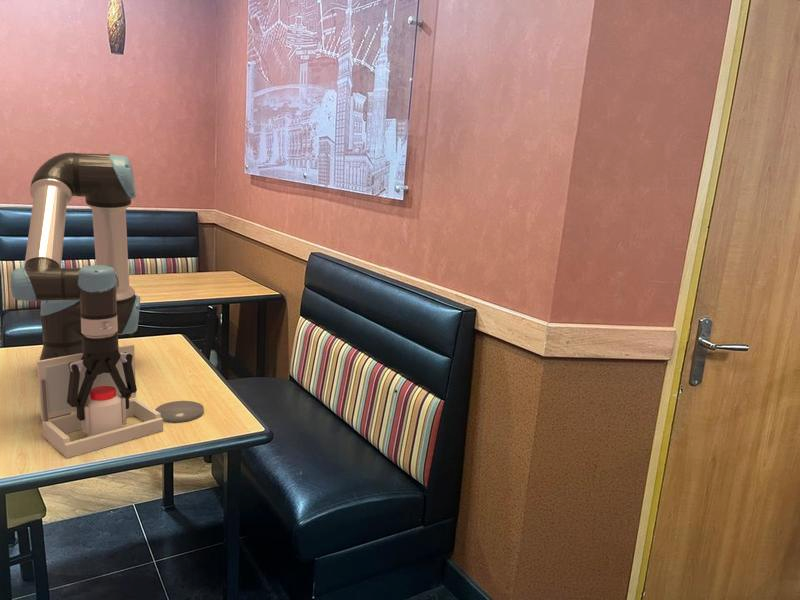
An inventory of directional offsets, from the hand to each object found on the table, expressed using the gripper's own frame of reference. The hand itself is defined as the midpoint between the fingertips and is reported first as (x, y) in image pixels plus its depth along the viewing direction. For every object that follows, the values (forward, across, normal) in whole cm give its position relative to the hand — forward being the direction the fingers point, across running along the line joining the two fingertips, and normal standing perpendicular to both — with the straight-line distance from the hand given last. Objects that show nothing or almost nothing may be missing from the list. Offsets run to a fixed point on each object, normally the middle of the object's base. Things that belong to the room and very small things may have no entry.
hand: (104, 426), depth 149 cm
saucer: (+2, +19, 0) cm, 19 cm away
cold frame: (+2, 0, 0) cm, 2 cm away
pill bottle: (+2, 0, 0) cm, 2 cm away
